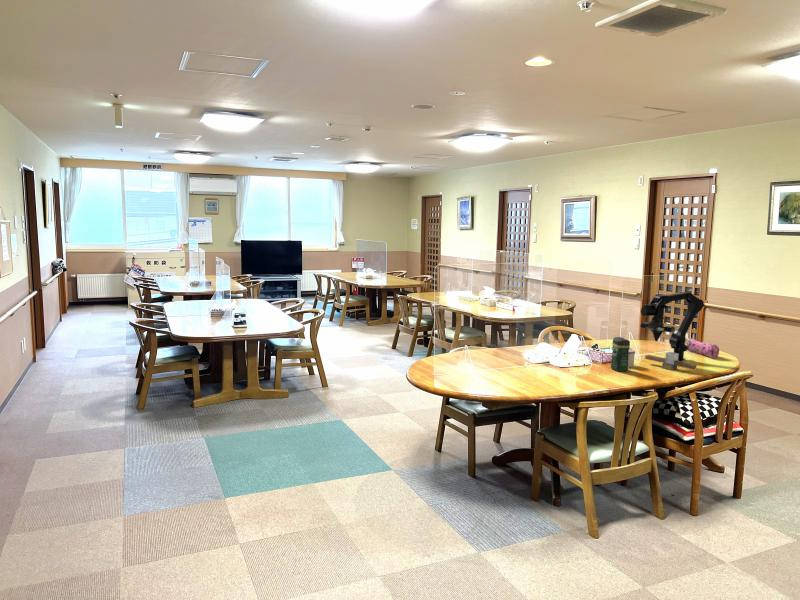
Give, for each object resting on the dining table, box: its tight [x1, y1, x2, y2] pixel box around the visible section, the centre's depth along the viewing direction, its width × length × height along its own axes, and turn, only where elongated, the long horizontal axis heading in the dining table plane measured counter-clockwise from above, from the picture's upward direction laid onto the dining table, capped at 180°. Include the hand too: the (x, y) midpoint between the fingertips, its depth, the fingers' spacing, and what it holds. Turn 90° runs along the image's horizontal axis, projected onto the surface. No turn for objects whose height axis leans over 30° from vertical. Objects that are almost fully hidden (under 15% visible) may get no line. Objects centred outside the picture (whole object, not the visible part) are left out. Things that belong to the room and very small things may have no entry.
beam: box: [644, 354, 698, 371], centre depth 340 cm, size 6×28×5 cm, turn 42°
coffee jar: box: [610, 336, 631, 373], centre depth 334 cm, size 10×8×19 cm
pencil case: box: [685, 337, 720, 359], centre depth 374 cm, size 21×9×9 cm, turn 16°
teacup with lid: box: [628, 347, 636, 368], centre depth 344 cm, size 12×9×12 cm
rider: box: [664, 351, 679, 365], centre depth 339 cm, size 5×5×6 cm
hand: (656, 341), depth 356 cm, fingers closed
